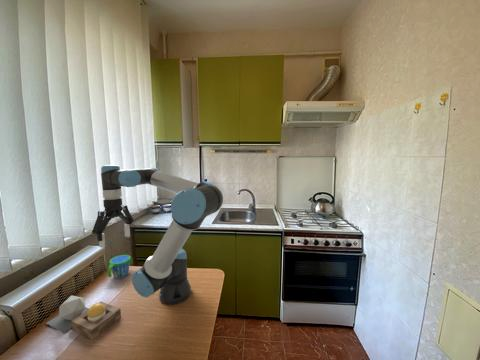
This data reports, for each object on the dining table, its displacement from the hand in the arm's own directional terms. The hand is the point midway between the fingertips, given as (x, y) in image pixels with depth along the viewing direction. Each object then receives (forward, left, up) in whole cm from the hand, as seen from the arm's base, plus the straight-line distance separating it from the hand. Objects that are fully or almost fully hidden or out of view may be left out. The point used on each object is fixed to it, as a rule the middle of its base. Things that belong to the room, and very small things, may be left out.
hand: (115, 241), depth 100 cm
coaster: (+6, +17, -28) cm, 34 cm away
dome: (-7, +15, -27) cm, 32 cm away
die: (+6, +17, -28) cm, 33 cm away
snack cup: (+15, -14, -28) cm, 35 cm away
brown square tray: (-7, +15, -28) cm, 33 cm away
